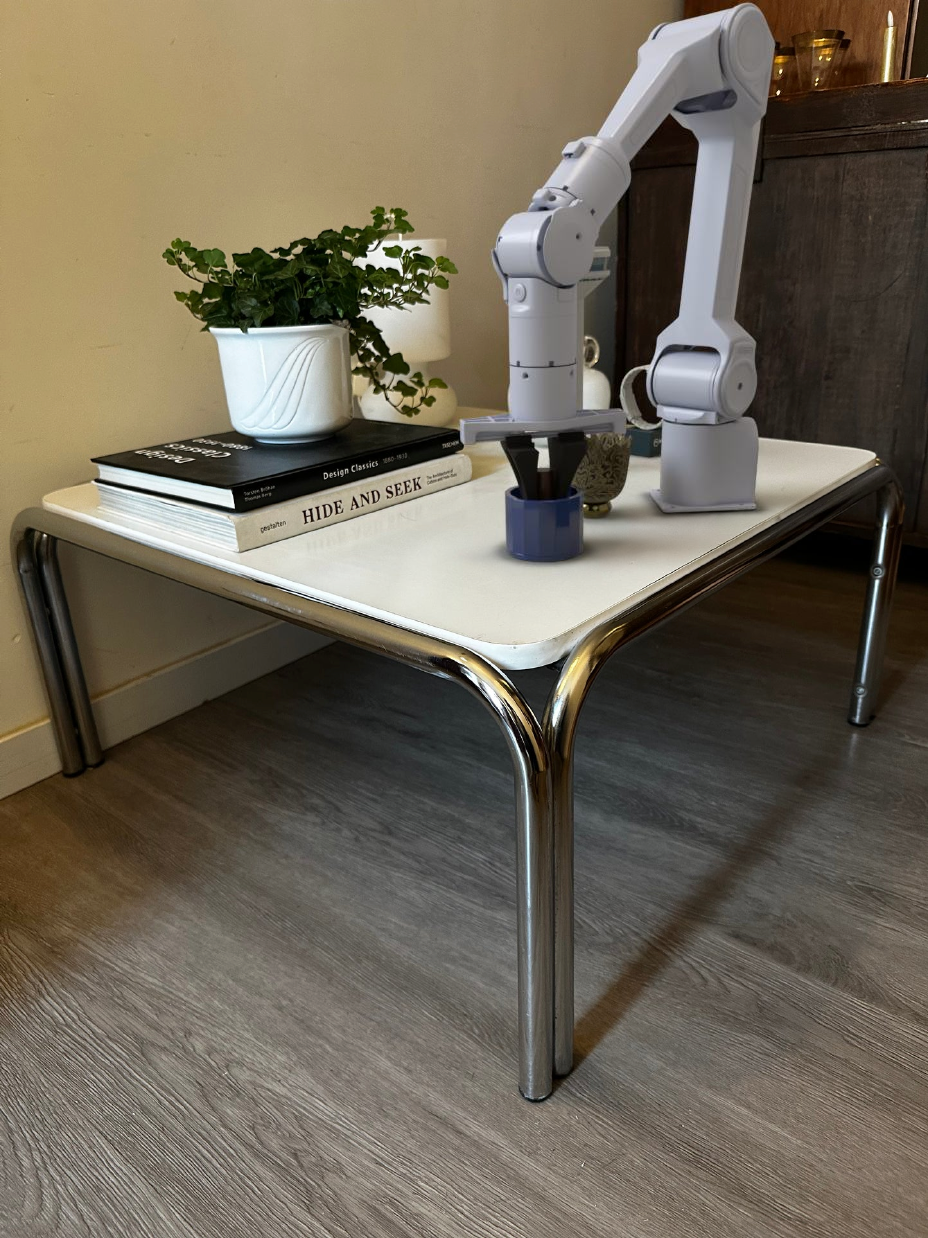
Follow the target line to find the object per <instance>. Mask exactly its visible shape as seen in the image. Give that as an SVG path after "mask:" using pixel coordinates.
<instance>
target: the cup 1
mask: <svg viewBox="0 0 928 1238" xmlns="http://www.w3.org/2000/svg"><path fill="white" fill-rule="evenodd" d="M504 516H505V518H504V519H505V547H506V554H508V555H509V556H510V557H512V558H515V559H518V560H521V561H525V562H526V561H527V562H535V563H548V562H549V563H550V562H559V561H565V560H569V559H572V558H575V557H578V556H579V555H580V554H582V552H583V551H584V549H583V547H584V519H585V518H584V492H583V490H582V488H580V487H578V486H575V485H572V484H571V487H570V490H569V493H568V496H567V498H564V499H557V500H541V501H539V500H526V499H522V496H521V493H520V489H519V486H518V484H516V485H514V486H511V487H509V488H507V489H506V490H504Z"/></svg>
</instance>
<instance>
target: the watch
mask: <svg viewBox="0 0 928 1238" xmlns="http://www.w3.org/2000/svg"><path fill="white" fill-rule="evenodd" d="M650 365H651V364H646V365H641V366H637V367H634V368H633V369H630V370H629V371H628V372H627V373H626V375H625V376H624V378H623V379H622V382H621V385H620V394H619V399H620V403H621V407H622V410H623V411H625V412H627V417H626V419H627V420H628V422H629V423H631V424H633V426H629V427H626V439H627V438H628V437H629V436H631V435H632V446H631V452H630V456H636V457H637V456H638V457H645V458H652V457H654V456H657V455H661V446H662V421H663V418H662V417H661V418H662V419H660V421H659V422H658V423H652V422H647V421H646V420H644V419H643V417H642V413H641V411H640V410H639V407H638V404H637V401H636V398H635V397H636V396H635V394H634V393H633V387H632V386H633V384H632V383H633V382H634V379H635V378H636V377H637V375H638V374H639V373H640V372H641V371H643V370H645V371H646V375H647V374H648V370H649V367H650ZM623 435H624V434H621V438H622V437H623Z"/></svg>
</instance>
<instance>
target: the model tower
mask: <svg viewBox="0 0 928 1238" xmlns="http://www.w3.org/2000/svg"><path fill="white" fill-rule="evenodd" d="M610 257H611V249H610V247H609V246H595V247H594V257H593V261H592V265H591V268H590V270H589V272H588V273H587V274H585V275H584V276H583V278H582V279H581V280H579V281H578V282H577V362H576V363H577V378H576V410H579V409H584V349H585V348H584V342H585V341H584V337H585V333H584V332H585V326H584V325H585V298H586V297H587V296H588V295H590V293H592V291H594V290H595V289H596V288H597V287H598V286H600V284H601V283H603V281H604V280H606V279H607V277H609V276H610V275H611V270H610V269H608V265H609V261H610ZM563 430H564V429H563Z"/></svg>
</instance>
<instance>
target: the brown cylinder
mask: <svg viewBox="0 0 928 1238" xmlns="http://www.w3.org/2000/svg"><path fill="white" fill-rule="evenodd" d="M537 500H539V501H541V500H554V470H553V469H551V468H550V467H538V470H537Z"/></svg>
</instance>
